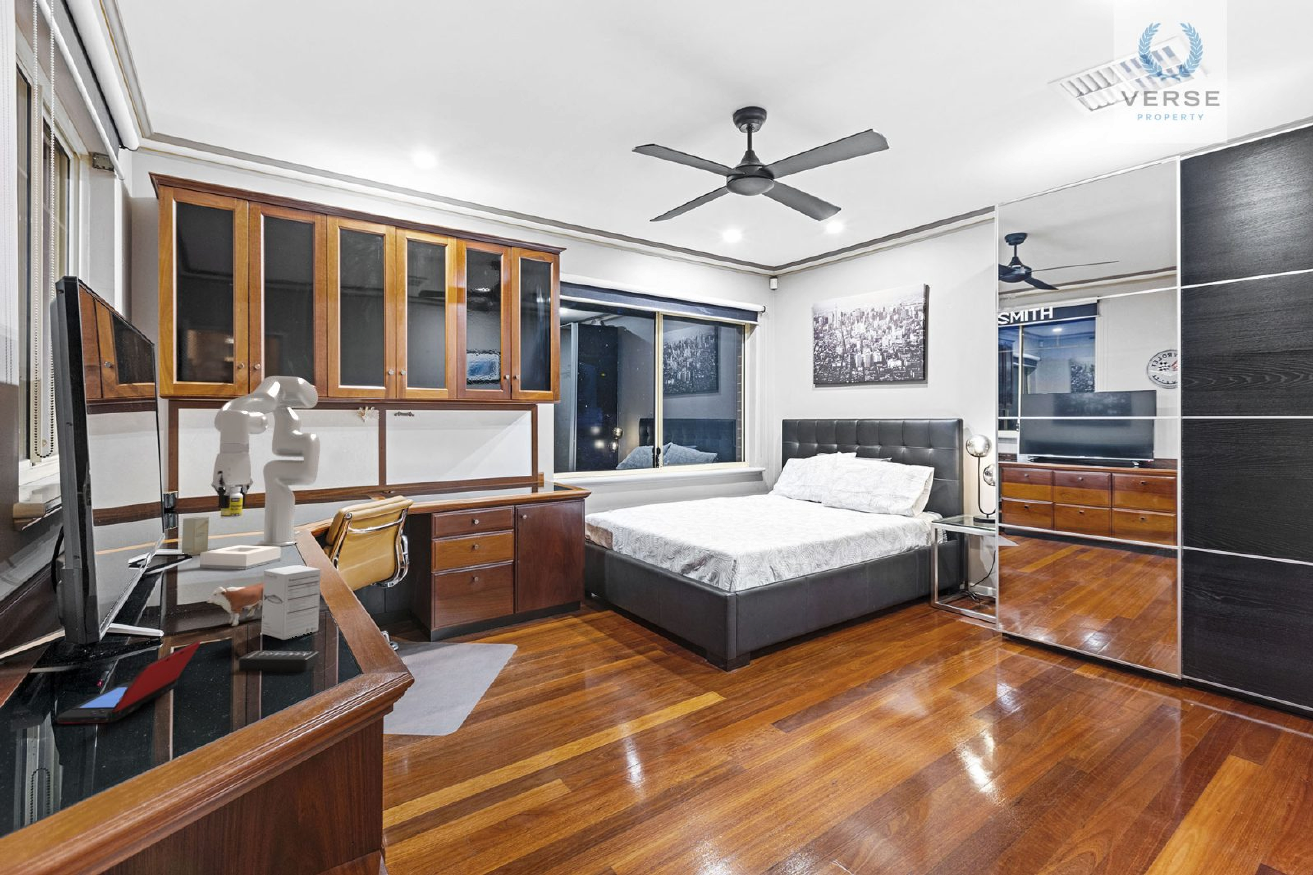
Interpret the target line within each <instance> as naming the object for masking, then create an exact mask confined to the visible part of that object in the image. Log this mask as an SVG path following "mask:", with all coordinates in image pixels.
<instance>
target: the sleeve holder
mask: <svg viewBox="0 0 1313 875" xmlns="http://www.w3.org/2000/svg"><path fill="white" fill-rule="evenodd" d="M281 549H282V546H260V545H243V544H242V545H240V544H238V545H233V546H226V547H223V548H218V549H212V550H208V551H206V552H201V553H200V554H199V555H200V556H199V557H200V558H199V561H200V562H199V568H200V569H223V570H224V569H226V570H239V569H238V568H250V569H252V568H251V567H254V566H257V565H259V564H263V563H270V562H274V563H276V562H275V561H278V562H280V561H281V559H282V558H281V556H282V553H281V552H282V550H281ZM279 560H280V561H279ZM270 564H271V563H270ZM254 568H255V567H254Z"/></svg>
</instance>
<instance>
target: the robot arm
mask: <svg viewBox="0 0 1313 875" xmlns="http://www.w3.org/2000/svg"><path fill="white" fill-rule="evenodd" d="M318 402H319V395H318V391H317V389H316V388H315V387H314V386H313V384H311V383H309V381H307V380H305V379H304V378H301V377H299V376H287V375H286V376H285V375H283V376H282V375H271V376H267V377H265V378H264V379H263V380H262V381H261V382H260V384H258V386H257V387H256V388H255V389H254V391H253V392H252V393H248V394H245V395H243V396H242V395H241V396H239V397H236V398H234V399H232V400H229V401H227V402H226V403H224V404H223V405H222V406H221V408H220V409H219V410H218V411H217V413H216V414H215V417H214V421H213V422H214V423H213V424H214V427H215V429H216V430H217V432H219V433H220V434H219V453H217V454H216V457H215V462H214V466H213V474H212V482H211V484H210V486H211V487H212V488H213V489H214V490H215V492H216V495H217V496H218V505H217V506H218V508H219V509H221V508H229V507H230V495H228V493H229V490H230V487H232V486H236V487H241V490H240V492H239V493H240V494H242V495H243V502H242V508H245V507H246V495H247V494H248V491H249V489H250V488H251V486H252V485H253V484H254V481H253V480H252V478H251V476H252V475H251V474H252V467H251V466H252V465H251V457H250V454H249V452H250V435H260V434H263V433H264V432H265V431H266V430H267V429H268V426H269V420H268V417H267V416H266V414H270V413H272V415H273V416H274V427H273V431H272V432H273V433H272V434H273V435H272V442H271V452H272V454H274V455H275V456H277V457H282V458H283V457H284V458H302V459H303V460H302V459H301V460H299V459H296V460H293V459H274V460H270V461H267V462H266V463H265V465H263V468H262V473H263V480H264V488H265V489H264V490H265V492H264V493H265V494H264V495H265V496H264V498H265V499H264V518H263V519H264V520H263V521H264V522H263V523H264V524H263V540H260V541H259V542H258V544H257V546H273V547H284V546H292V545H296V544H295V542H296V540H297V541H298V542H299V540H298V539H295V538H296V537H300V536H301V535H302V534H301V531H300V530H297V531H295V530H294V529H295V508H296V497H295V494H294V492H293V490H292V489H291V488H290V486H311V485H313V484H314V483H315V482H316V480H317V477H318V470H319V469H318V468H319V462H320V460H319V459H320V451H321V441H320V438H319V436H318V435H317V434H315V433H312V432H301V425H302V424H301V418H300V416H298V414H297V413H296V411H294V410H293V409H312V408H314V407H315V406H316V405H317V404H318ZM292 408H293V409H292Z"/></svg>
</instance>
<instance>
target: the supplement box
mask: <svg viewBox="0 0 1313 875" xmlns="http://www.w3.org/2000/svg"><path fill="white" fill-rule="evenodd" d="M321 571H322V569H321V568H316V567H311V566H306V565H301V564H300V565H299V564H296V565H288V566H282V567H277V568H270V569H269V568H268V569H265V570H263V582H264V585H263V604H262V605H261V607H262V609H261V610H262V611H261V614H262V615H261V629H260V630H261V632H260V633H261V634H262V635H267V636H271V637H272V638H277V639H280V640H282V641H285V640H288V639H289V640H290V639H293V638H296V637H295V636H297V637H301V636H304V635H303V634H305V635H308V634H307V633H309V634H311V633H310V632H312V633H316V632H318V631H319V619H320V598H321V597H320V596H321ZM292 637H293V638H292Z"/></svg>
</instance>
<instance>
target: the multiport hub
mask: <svg viewBox="0 0 1313 875" xmlns="http://www.w3.org/2000/svg"><path fill="white" fill-rule="evenodd" d="M319 653H320V652H319V651H318V650H317V651H316V650H253V651H251V652H249V653H247V654H245V655H244V656H241V657H239V658H238V666H237V668H238V669H237V671H238V672H295V673H296V672H307V671H308V670H310V669H312V668H313V667H314V666H316V665H318V663H319Z"/></svg>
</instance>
